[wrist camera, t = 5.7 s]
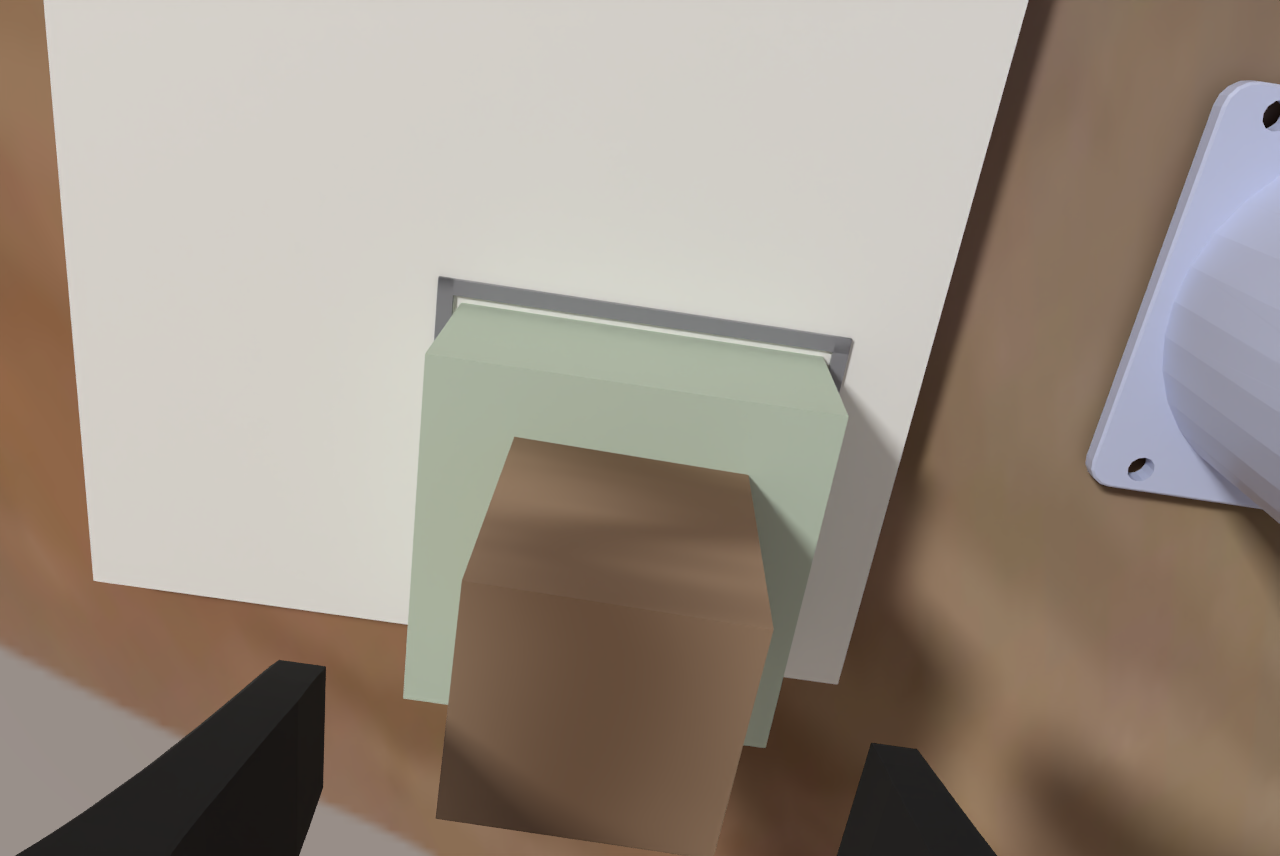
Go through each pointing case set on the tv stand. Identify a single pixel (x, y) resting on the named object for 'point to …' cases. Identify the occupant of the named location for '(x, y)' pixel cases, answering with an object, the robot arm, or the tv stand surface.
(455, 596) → the sage base block
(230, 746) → the robot arm
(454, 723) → the walnut cube
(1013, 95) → the tv stand surface
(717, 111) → the baseplate
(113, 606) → the tv stand surface
